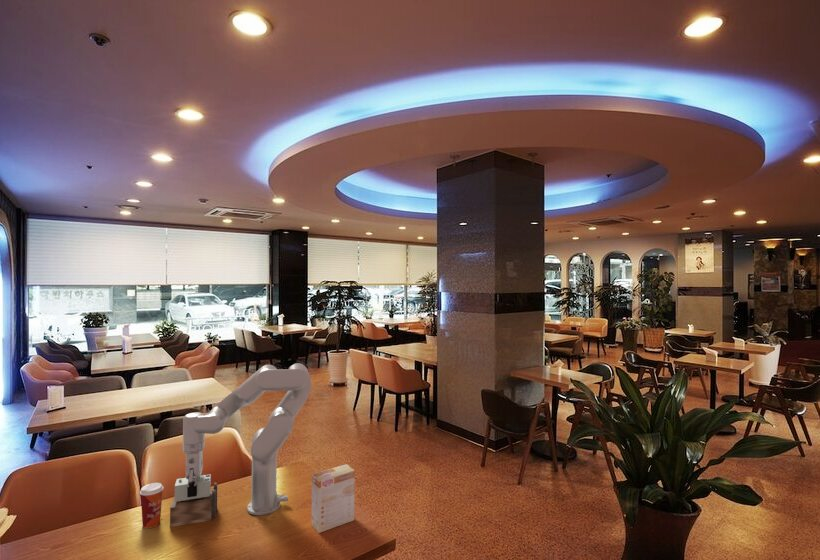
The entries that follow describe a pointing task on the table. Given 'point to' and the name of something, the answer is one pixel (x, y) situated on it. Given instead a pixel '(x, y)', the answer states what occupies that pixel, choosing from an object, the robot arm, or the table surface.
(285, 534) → the table surface
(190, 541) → the table surface
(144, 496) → the paper cup
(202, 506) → the brown boxy piece
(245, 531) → the table surface
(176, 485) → the white block with knobs
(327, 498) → the coffeecake box
